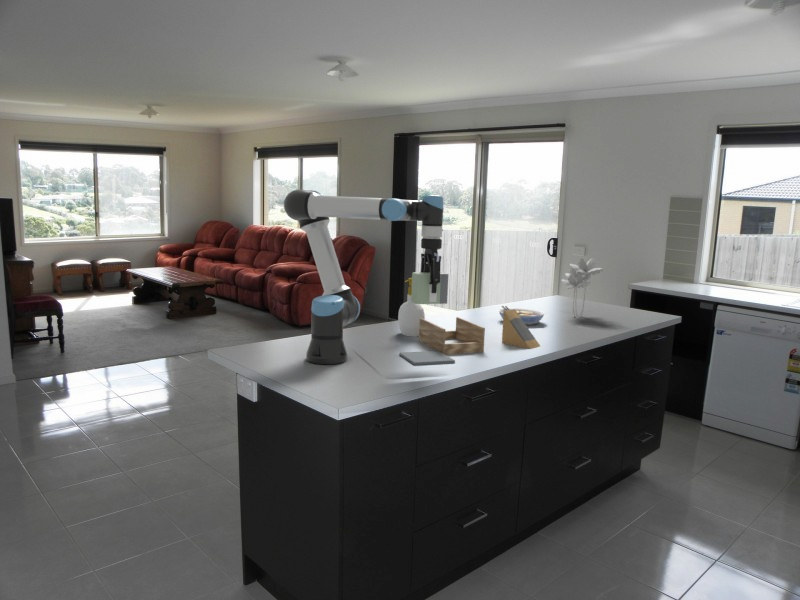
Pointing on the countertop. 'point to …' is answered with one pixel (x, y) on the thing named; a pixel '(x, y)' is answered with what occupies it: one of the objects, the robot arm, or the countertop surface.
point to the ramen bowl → (526, 315)
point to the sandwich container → (517, 331)
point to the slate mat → (426, 357)
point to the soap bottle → (410, 315)
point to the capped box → (422, 288)
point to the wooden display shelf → (464, 332)
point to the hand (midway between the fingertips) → (429, 300)
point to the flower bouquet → (580, 277)
